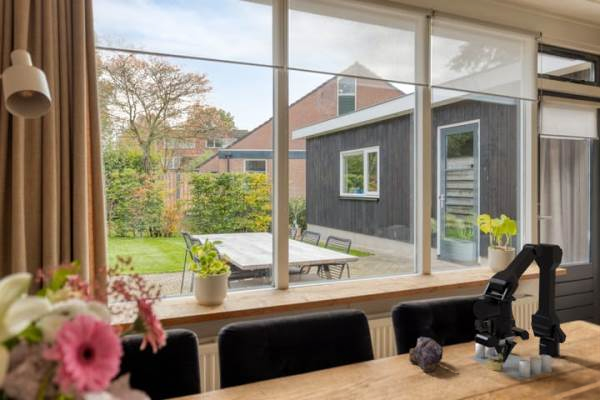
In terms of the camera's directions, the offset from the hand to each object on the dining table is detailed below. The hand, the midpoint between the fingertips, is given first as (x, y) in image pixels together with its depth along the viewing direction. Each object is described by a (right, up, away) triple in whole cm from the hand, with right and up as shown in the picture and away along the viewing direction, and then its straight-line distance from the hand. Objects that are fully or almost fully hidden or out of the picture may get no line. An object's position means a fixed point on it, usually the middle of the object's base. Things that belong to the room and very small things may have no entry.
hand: (502, 362), depth 138 cm
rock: (-24, -3, +3) cm, 24 cm away
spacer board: (+3, -2, +2) cm, 5 cm away
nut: (-3, -1, -1) cm, 3 cm away
